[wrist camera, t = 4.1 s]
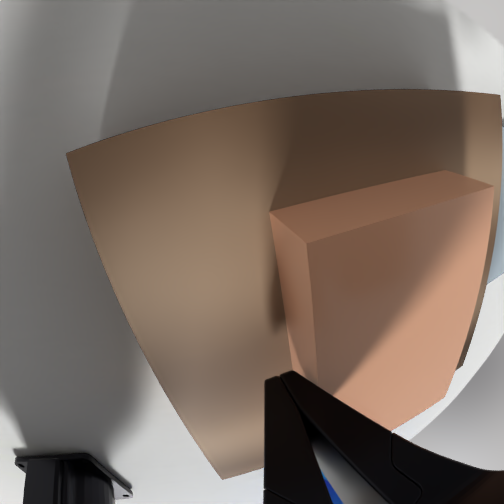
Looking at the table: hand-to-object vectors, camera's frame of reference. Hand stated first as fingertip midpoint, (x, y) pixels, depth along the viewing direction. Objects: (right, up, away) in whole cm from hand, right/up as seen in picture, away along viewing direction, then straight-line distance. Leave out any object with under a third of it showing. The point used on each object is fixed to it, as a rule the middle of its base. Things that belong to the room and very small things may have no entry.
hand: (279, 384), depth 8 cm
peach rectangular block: (+3, +1, +2) cm, 4 cm away
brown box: (+2, +3, +5) cm, 6 cm away
